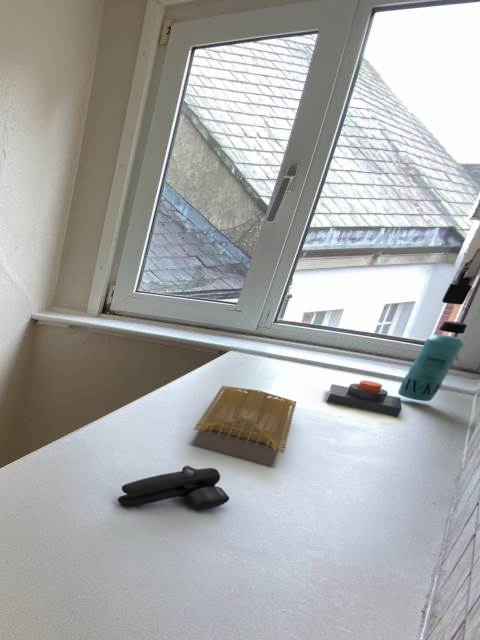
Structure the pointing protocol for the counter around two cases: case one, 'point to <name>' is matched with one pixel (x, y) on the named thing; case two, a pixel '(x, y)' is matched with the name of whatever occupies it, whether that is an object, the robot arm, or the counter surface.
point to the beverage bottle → (432, 363)
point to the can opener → (177, 489)
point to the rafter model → (246, 424)
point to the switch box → (365, 399)
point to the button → (369, 386)
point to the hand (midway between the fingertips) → (451, 303)
